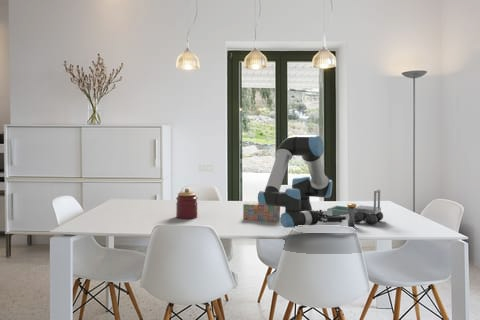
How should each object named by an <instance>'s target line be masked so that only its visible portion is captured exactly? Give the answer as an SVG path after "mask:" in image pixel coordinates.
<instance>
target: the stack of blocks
mask: <svg viewBox="0 0 480 320" xmlns="http://www.w3.org/2000/svg"><path fill="white" fill-rule="evenodd" d="M242 206H243V210H242V211H243V215H242V219H243V220H248V221H259V222H260V221H264V222H275V223H276V222H279V221H280V217H281V207H280V206H268V205H267V206H266V205H261V204H259V202H258V201H257V203H256V202H244V203H243V204H242Z"/></svg>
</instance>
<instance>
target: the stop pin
mask: <svg viewBox="0 0 480 320" xmlns="http://www.w3.org/2000/svg"><path fill="white" fill-rule="evenodd" d="M346 207H348V215H349V220H347V227H350V226H352V227H355V226H356V223H355V207H357V204H356V203H347V206H346Z"/></svg>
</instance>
